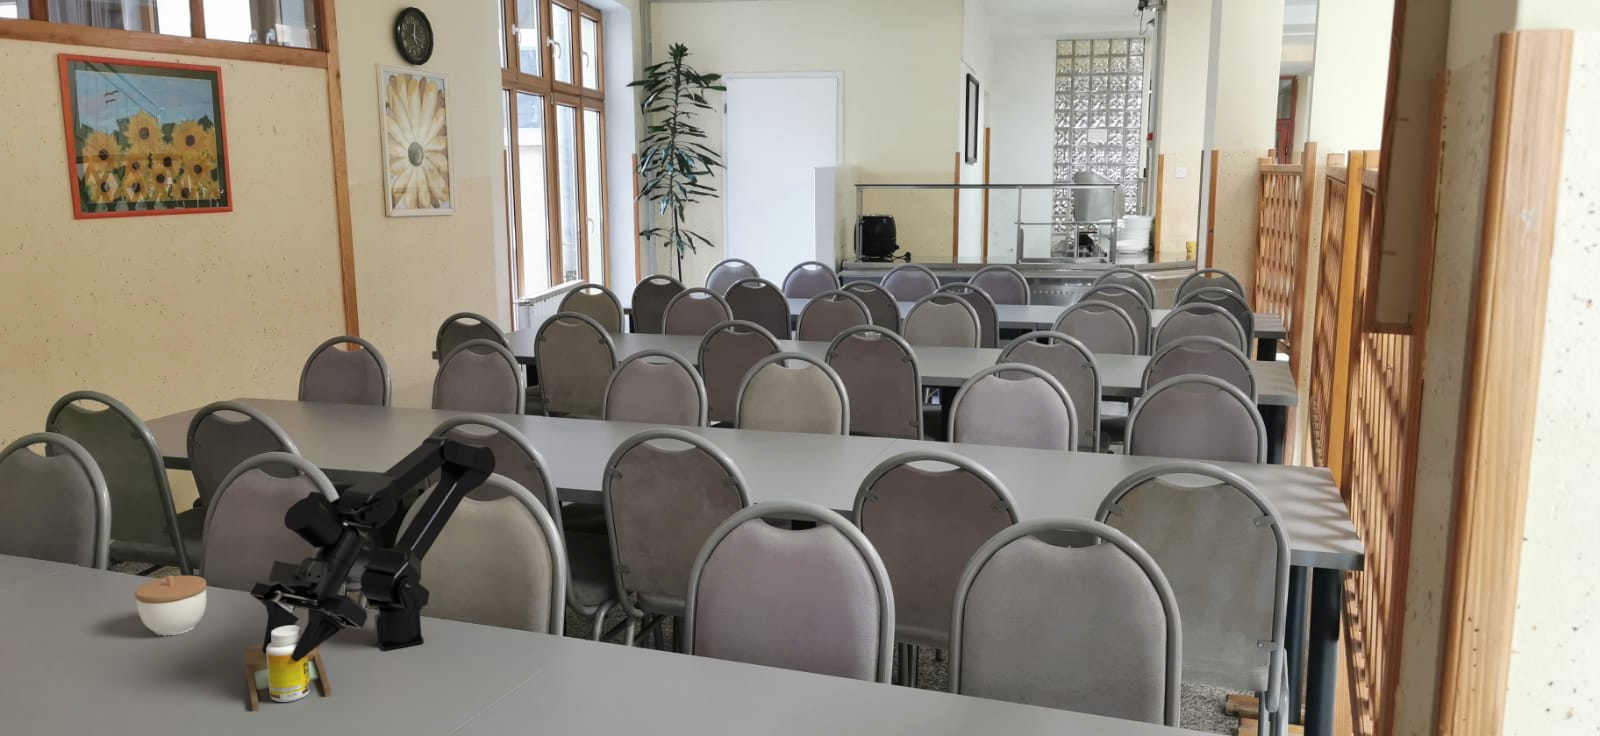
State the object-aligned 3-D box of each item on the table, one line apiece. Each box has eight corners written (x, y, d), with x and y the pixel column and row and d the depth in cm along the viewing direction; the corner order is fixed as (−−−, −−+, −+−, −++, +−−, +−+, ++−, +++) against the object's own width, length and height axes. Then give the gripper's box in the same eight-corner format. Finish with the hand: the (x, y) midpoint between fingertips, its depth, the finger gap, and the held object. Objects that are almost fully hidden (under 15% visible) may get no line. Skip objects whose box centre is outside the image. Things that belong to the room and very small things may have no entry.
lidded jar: (222, 625, 200) (218, 573, 199) (161, 646, 191) (155, 592, 190) (187, 613, 206) (183, 562, 204) (126, 633, 197) (120, 580, 195)
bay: (319, 659, 186) (317, 635, 185) (331, 695, 173) (329, 670, 172) (246, 672, 181) (244, 648, 180) (252, 711, 168) (250, 685, 167)
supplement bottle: (312, 699, 172) (307, 633, 170) (270, 706, 169) (265, 640, 168) (309, 684, 177) (304, 620, 175) (269, 691, 174) (264, 626, 173)
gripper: (255, 529, 177) (197, 623, 169) (347, 545, 169) (291, 644, 161) (300, 563, 185) (247, 654, 177) (390, 579, 177) (339, 676, 169)
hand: (279, 656), depth 171 cm, fingers closed on supplement bottle, 6 cm apart
